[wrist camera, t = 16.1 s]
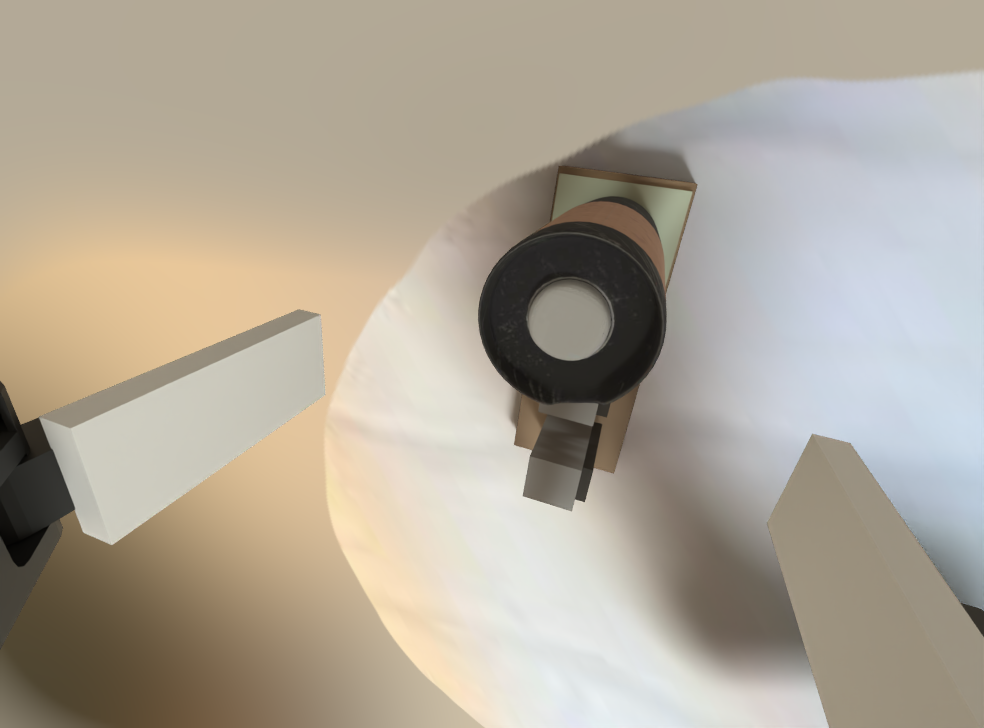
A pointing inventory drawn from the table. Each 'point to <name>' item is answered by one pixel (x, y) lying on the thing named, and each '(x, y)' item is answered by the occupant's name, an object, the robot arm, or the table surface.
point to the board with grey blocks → (590, 426)
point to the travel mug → (578, 305)
